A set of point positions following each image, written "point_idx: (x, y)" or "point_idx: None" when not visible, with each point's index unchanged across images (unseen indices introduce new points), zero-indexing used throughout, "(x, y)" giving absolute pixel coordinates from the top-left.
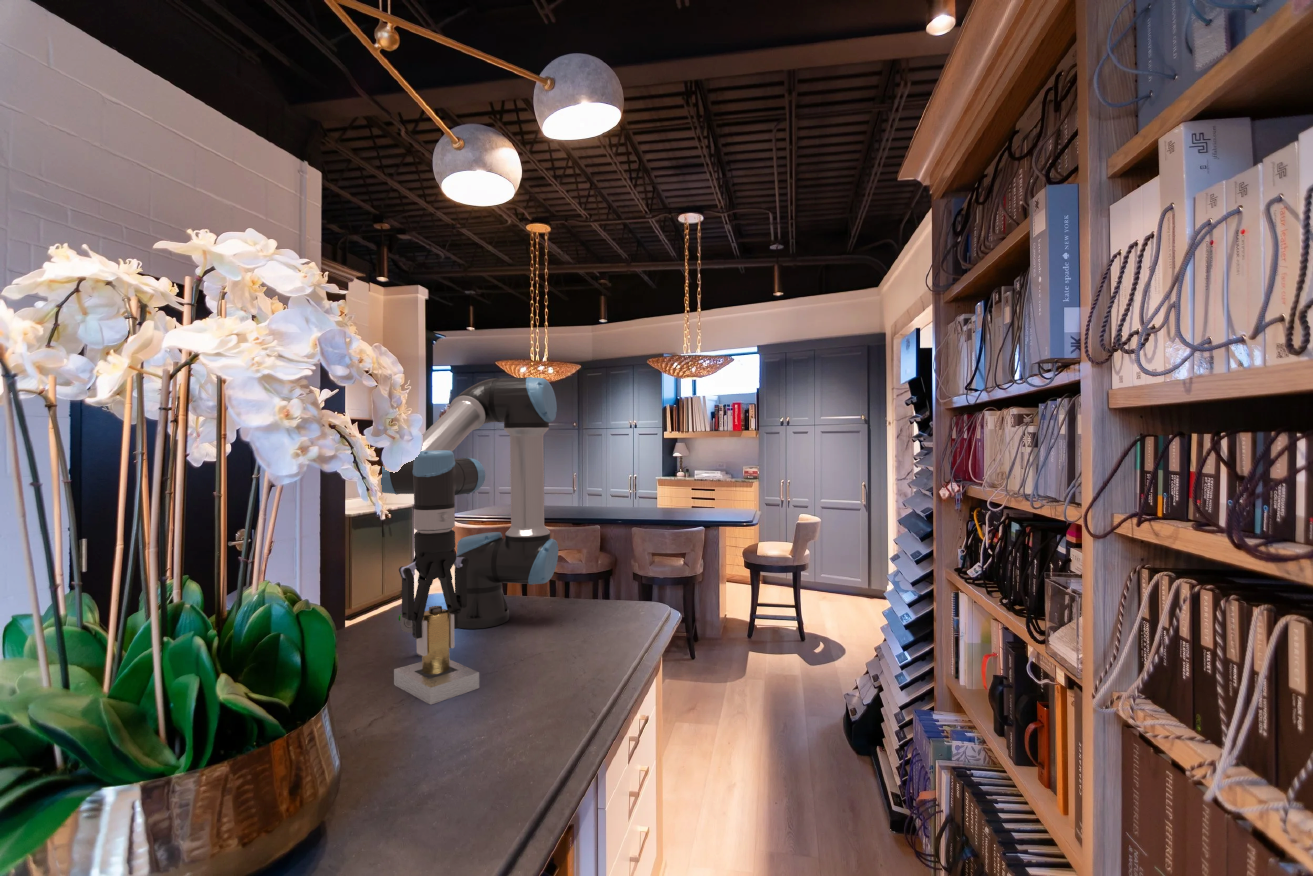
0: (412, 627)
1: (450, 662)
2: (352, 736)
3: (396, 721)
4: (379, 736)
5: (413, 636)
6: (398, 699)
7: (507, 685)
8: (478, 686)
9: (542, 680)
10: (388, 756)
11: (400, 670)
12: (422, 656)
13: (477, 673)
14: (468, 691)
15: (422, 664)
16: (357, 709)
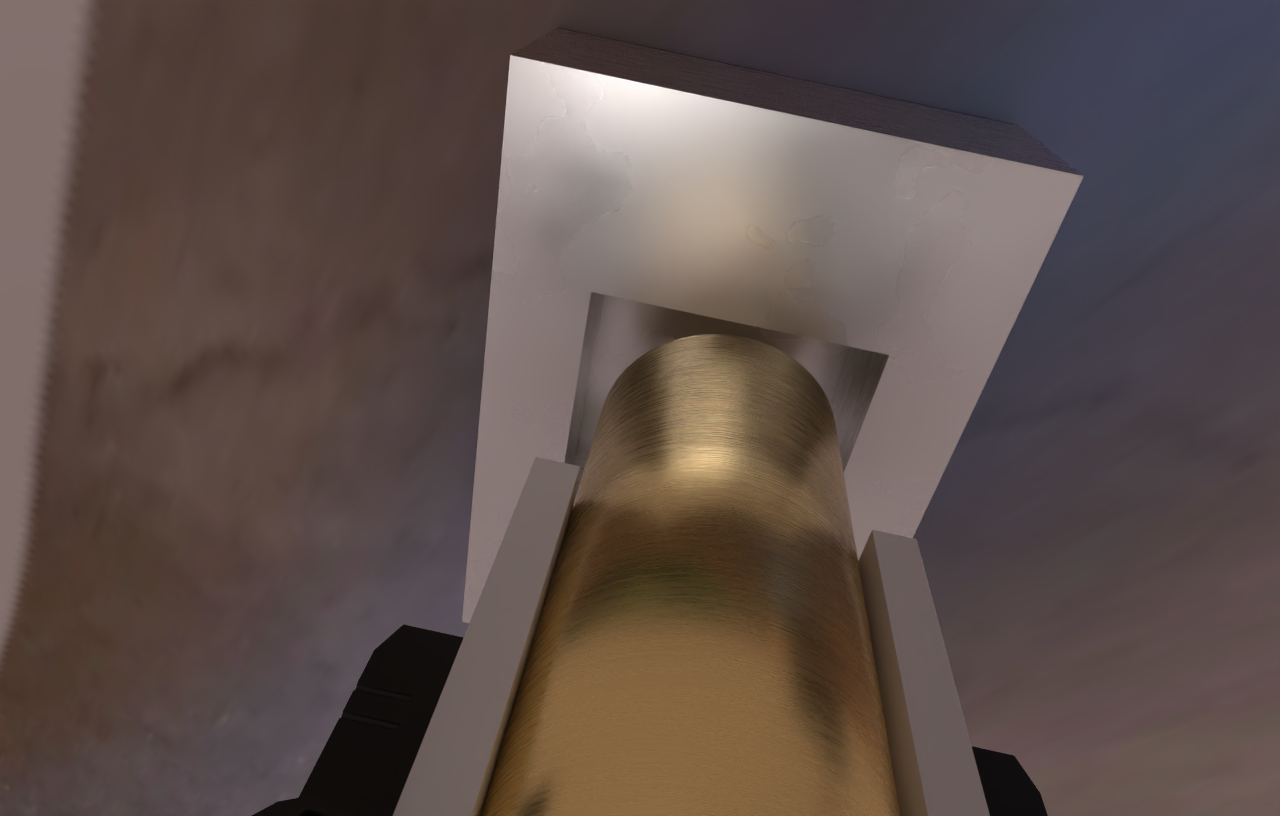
0: (324, 750)
1: (932, 407)
2: (66, 418)
3: (305, 472)
4: (175, 523)
5: (390, 646)
6: (472, 231)
7: (1001, 649)
8: None
9: (1144, 753)
10: (148, 664)
11: (532, 152)
12: (584, 475)
13: None
14: None
15: (597, 428)
16: (189, 115)
